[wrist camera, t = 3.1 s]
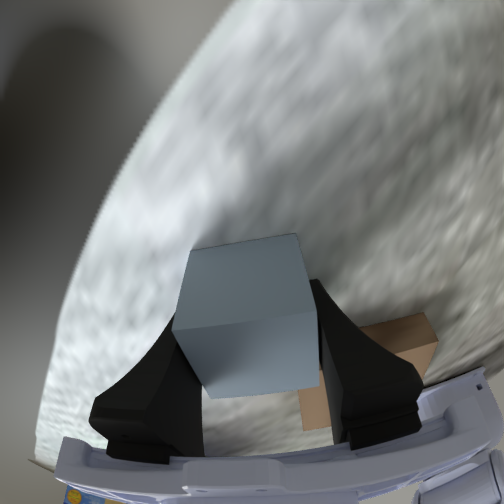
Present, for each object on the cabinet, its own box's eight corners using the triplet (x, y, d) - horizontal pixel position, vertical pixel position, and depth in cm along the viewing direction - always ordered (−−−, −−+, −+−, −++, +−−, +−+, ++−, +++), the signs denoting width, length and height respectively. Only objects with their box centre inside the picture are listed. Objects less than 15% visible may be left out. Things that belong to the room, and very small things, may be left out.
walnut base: (420, 307, 18) (439, 340, 15) (399, 378, 23) (408, 406, 20) (290, 335, 18) (295, 374, 16) (299, 400, 23) (303, 431, 21)
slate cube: (295, 233, 14) (316, 310, 10) (304, 310, 17) (319, 386, 12) (190, 251, 14) (171, 330, 10) (216, 322, 17) (211, 398, 13)
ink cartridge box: (107, 475, 45) (99, 531, 33) (117, 481, 48) (110, 533, 36) (70, 464, 45) (59, 517, 33) (80, 471, 48) (72, 521, 36)
